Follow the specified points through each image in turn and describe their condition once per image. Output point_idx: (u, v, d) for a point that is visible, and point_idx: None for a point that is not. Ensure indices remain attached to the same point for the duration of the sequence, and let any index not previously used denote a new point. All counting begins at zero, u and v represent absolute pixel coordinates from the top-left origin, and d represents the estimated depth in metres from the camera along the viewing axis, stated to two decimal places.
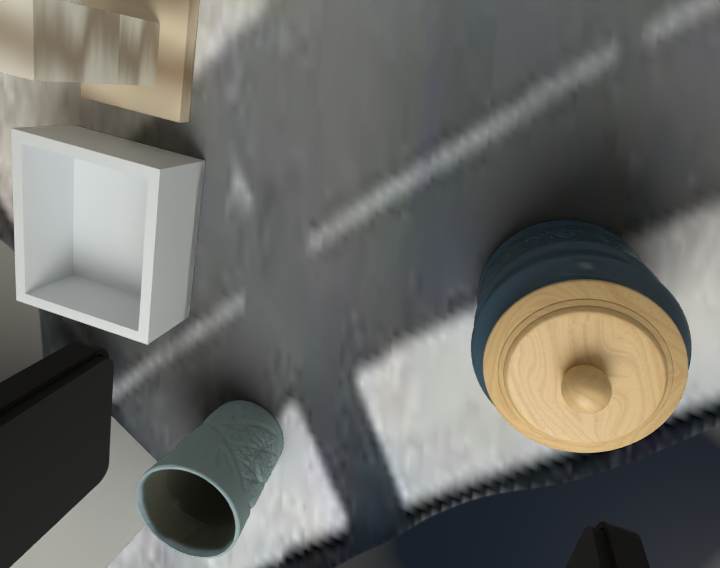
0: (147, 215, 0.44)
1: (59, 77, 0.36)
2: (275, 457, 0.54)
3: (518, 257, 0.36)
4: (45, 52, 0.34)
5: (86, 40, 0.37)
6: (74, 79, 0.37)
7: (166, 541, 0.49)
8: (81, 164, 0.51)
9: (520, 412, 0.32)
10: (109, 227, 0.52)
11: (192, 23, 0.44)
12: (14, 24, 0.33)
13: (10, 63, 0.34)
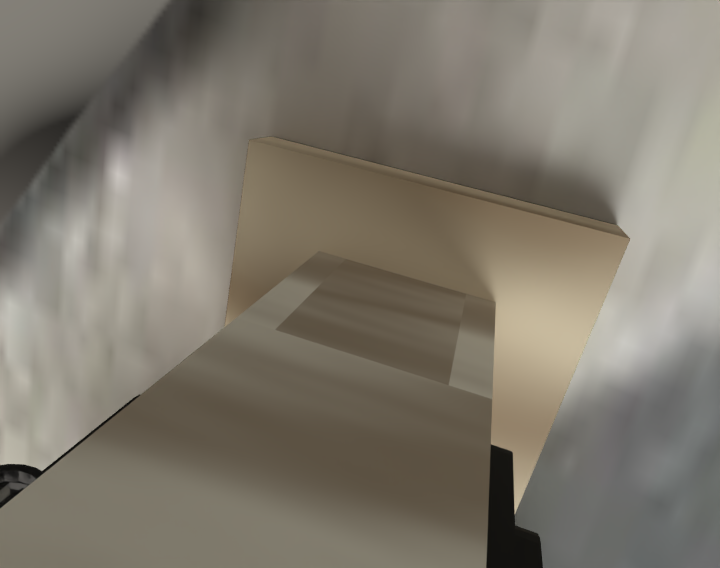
0: None
1: None
2: None
3: None
4: None
5: None
6: None
7: None
8: None
9: None
10: None
11: None
12: None
13: None
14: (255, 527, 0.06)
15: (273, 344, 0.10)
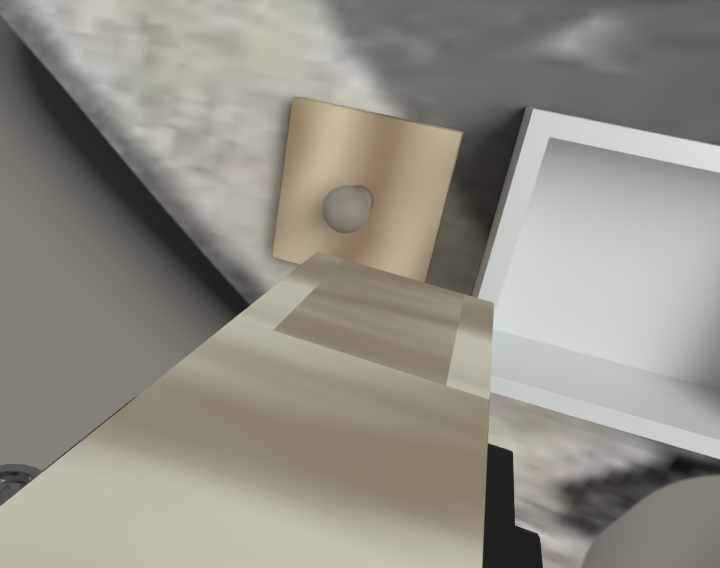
0: (622, 148, 0.23)
1: None
2: None
3: None
4: None
5: None
6: None
7: None
8: (520, 323, 0.33)
9: None
10: (633, 298, 0.30)
11: (328, 103, 0.31)
12: None
13: None
14: (251, 527, 0.06)
15: (271, 345, 0.10)
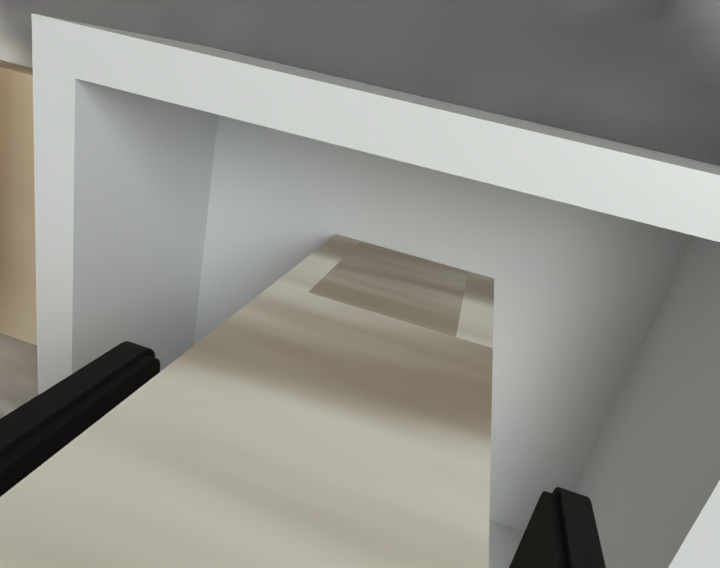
0: (213, 104, 0.10)
1: None
2: None
3: None
4: None
5: None
6: None
7: None
8: None
9: None
10: None
11: None
12: None
13: None
14: (313, 420, 0.08)
15: (308, 302, 0.11)
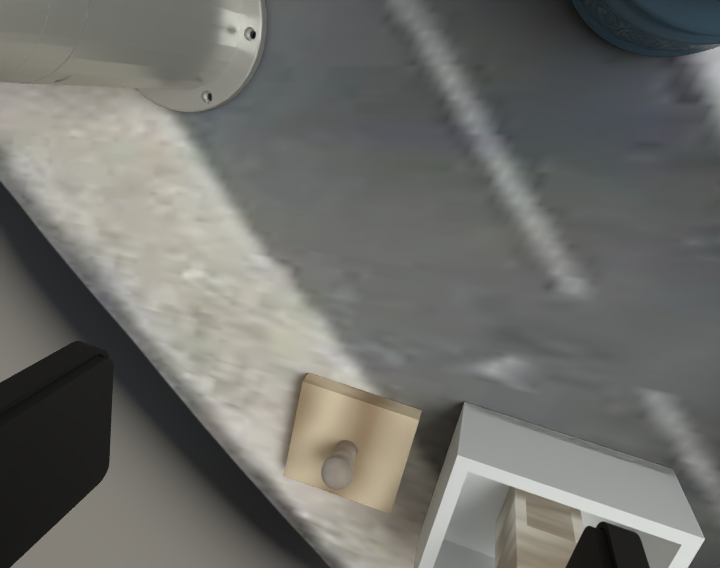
0: (512, 484, 0.36)
1: None
2: None
3: None
4: None
5: None
6: None
7: None
8: (461, 537, 0.46)
9: None
10: None
11: (327, 384, 0.44)
12: None
13: None
14: None
15: (530, 532, 0.37)
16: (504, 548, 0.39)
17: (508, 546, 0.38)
